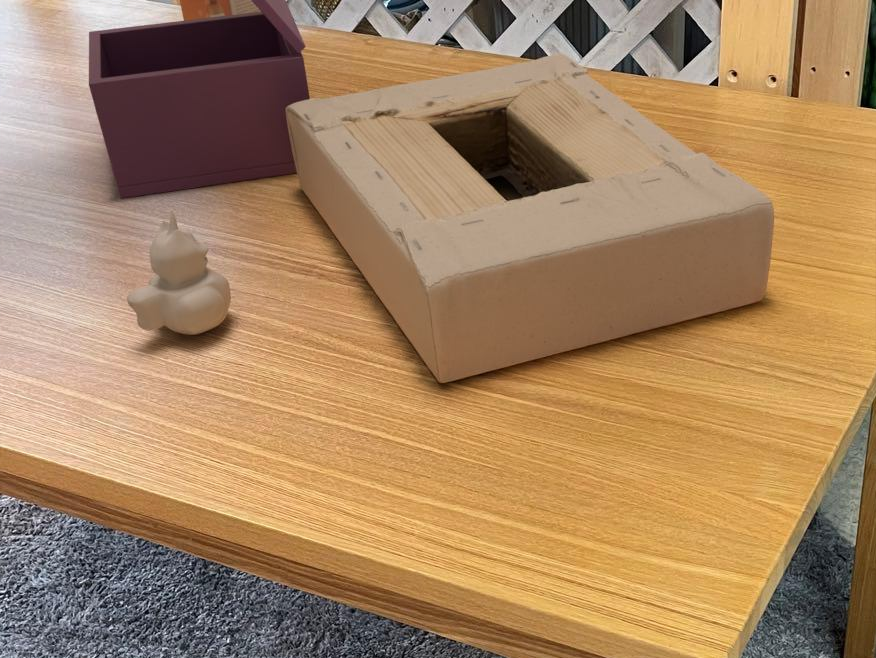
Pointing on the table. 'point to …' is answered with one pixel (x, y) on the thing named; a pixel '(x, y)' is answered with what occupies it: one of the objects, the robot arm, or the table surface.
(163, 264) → the rubber duck
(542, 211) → the box
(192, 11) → the small box
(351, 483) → the table surface
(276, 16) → the lid
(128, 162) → the box
